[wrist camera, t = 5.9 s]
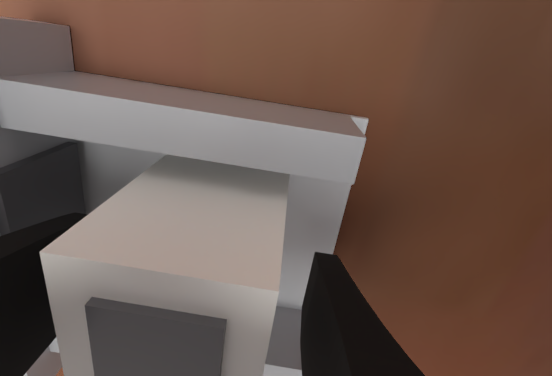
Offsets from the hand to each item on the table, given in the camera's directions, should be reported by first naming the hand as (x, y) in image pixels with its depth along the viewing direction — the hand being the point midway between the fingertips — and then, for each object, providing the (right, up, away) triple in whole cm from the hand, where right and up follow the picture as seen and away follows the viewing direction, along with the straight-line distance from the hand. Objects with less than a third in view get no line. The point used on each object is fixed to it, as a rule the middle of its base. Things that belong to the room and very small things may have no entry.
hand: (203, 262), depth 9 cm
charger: (0, +1, +3) cm, 3 cm away
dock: (0, +1, +3) cm, 3 cm away
